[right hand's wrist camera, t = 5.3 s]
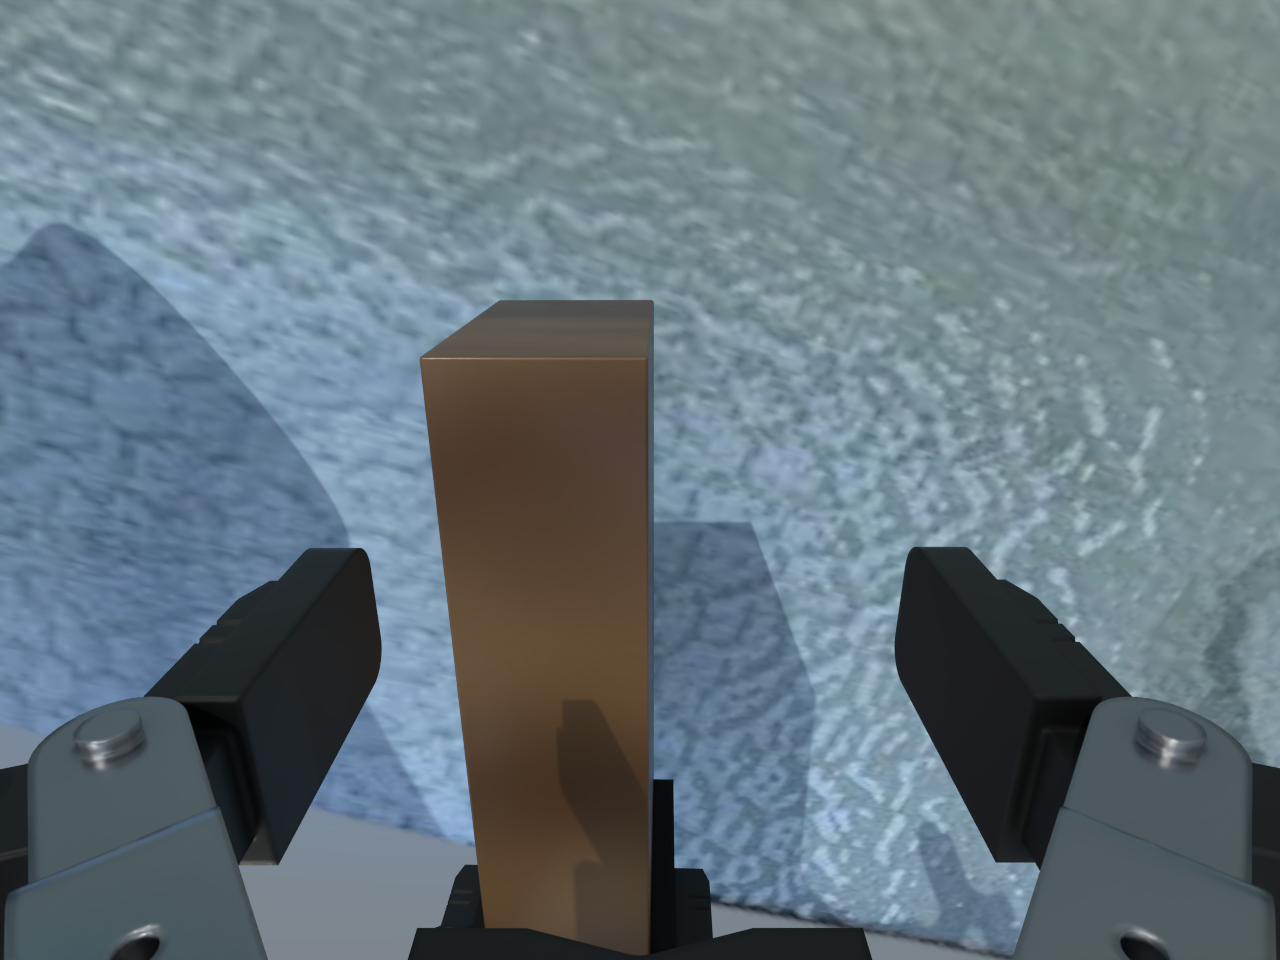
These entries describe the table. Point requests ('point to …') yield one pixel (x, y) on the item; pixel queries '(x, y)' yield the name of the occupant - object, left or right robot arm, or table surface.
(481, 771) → the block
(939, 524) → the table surface
